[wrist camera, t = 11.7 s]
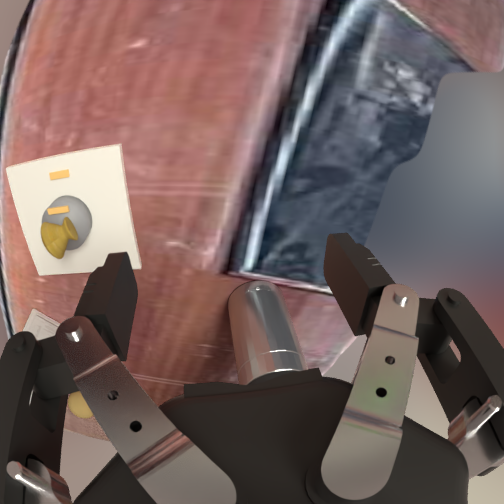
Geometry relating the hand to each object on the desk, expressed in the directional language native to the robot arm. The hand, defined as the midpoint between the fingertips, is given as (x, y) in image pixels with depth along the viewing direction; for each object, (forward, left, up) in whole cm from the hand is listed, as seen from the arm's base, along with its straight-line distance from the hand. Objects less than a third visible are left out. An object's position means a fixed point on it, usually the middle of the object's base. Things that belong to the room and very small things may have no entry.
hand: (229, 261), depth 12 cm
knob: (-9, +20, -24) cm, 33 cm away
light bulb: (-47, +31, -28) cm, 63 cm away
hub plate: (-9, +20, -28) cm, 35 cm away
